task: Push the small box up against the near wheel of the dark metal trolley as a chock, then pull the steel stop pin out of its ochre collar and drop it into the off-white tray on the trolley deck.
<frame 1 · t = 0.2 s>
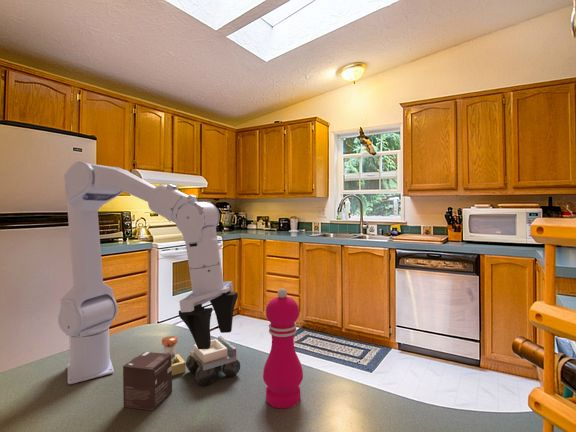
hand: (215, 339, 58), 10 cm above the counter, tool pointing down, fingers open, 7 cm apart
collar: (170, 370, 68), on the counter
tray: (210, 354, 66), resting on trolley
box: (148, 400, 58), on the counter
pepper mill: (283, 399, 58), on the counter
trolley: (212, 373, 67), on the counter
pin: (169, 354, 68), in the collar
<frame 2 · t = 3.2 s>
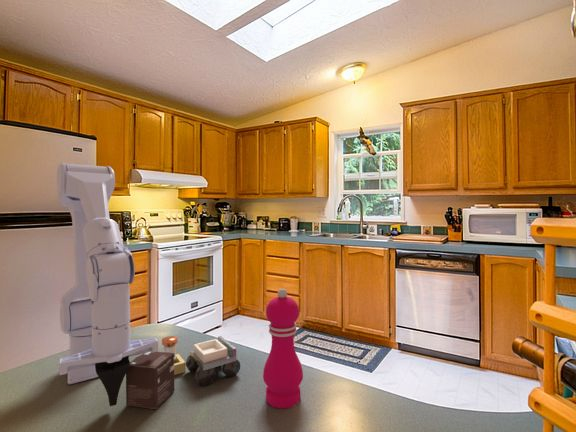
hand: (112, 402, 54), 1 cm above the counter, tool pointing down, fingers closed
box: (151, 399, 58), on the counter, touching gripper
everything else where it was.
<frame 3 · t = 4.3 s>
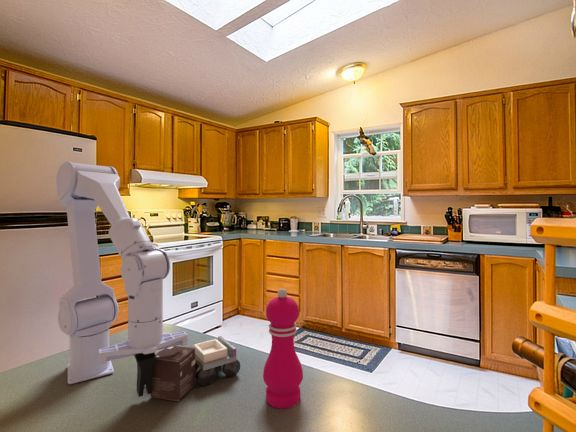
hand: (145, 392, 58), 1 cm above the counter, tool pointing down, fingers closed, pressing on box
box: (173, 392, 60), on the counter, touching gripper, trolley
everything else where it was.
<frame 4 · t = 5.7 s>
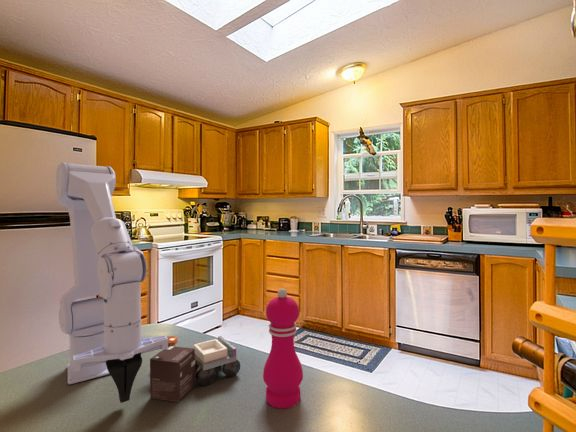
hand: (124, 398, 55), 1 cm above the counter, tool pointing down, fingers closed
box: (173, 392, 60), on the counter
everything else where it was.
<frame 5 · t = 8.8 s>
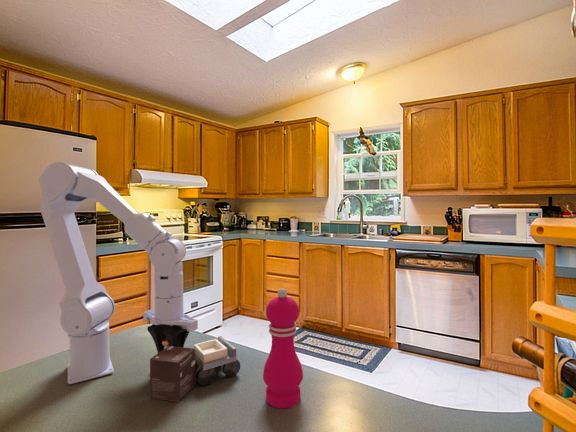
hand: (170, 358, 68), 3 cm above the counter, tool pointing down, fingers closed on pin, 3 cm apart
pin: (170, 354, 68), in the collar, touching gripper
everything else where it was.
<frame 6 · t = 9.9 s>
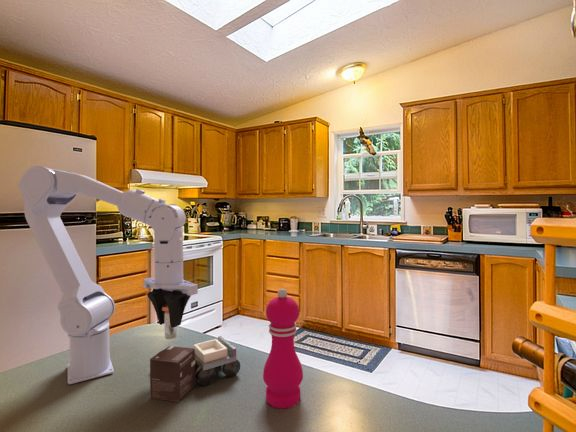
hand: (169, 324, 68), 10 cm above the counter, tool pointing down, fingers closed on pin, 3 cm apart
pin: (170, 321, 68), point 11 cm above the counter, touching gripper
everything else where it was.
when the fingers open (8 cm above the counter, at t = 11.0 s): pin stays where it is, resting on tray.
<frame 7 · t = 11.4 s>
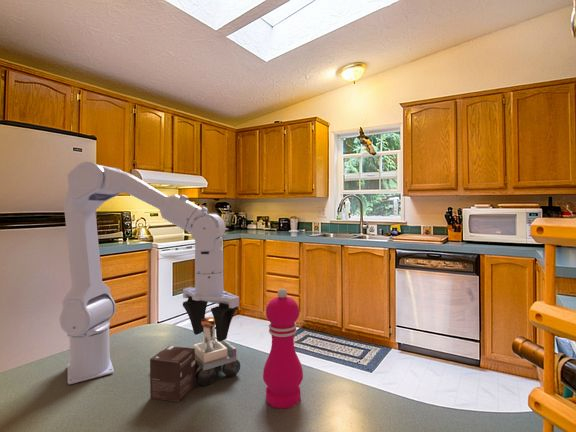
hand: (210, 336, 66), 8 cm above the counter, tool pointing down, fingers open, 6 cm apart
pin: (209, 335, 67), in the tray, point 8 cm above the counter
everything else where it was.
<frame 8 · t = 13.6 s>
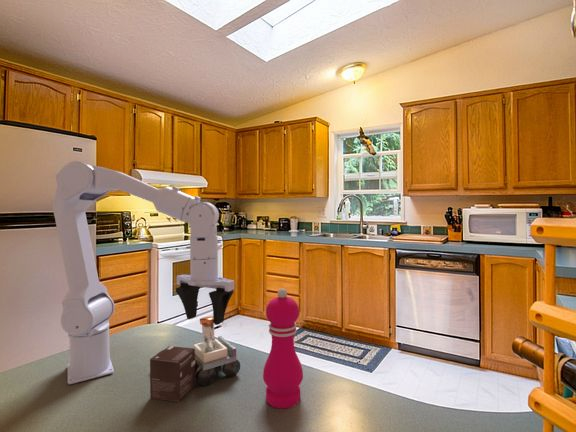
hand: (204, 320, 69), 10 cm above the counter, tool pointing down, fingers open, 7 cm apart
pin: (208, 334, 67), in the tray, point 8 cm above the counter, touching gripper
everything else where it was.
at the end: box 1.3 cm from the target spot, on the counter; pin 0.3 cm off-centre on the tray, point 3.9 cm above the tray's base; the gripper is holding nothing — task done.
